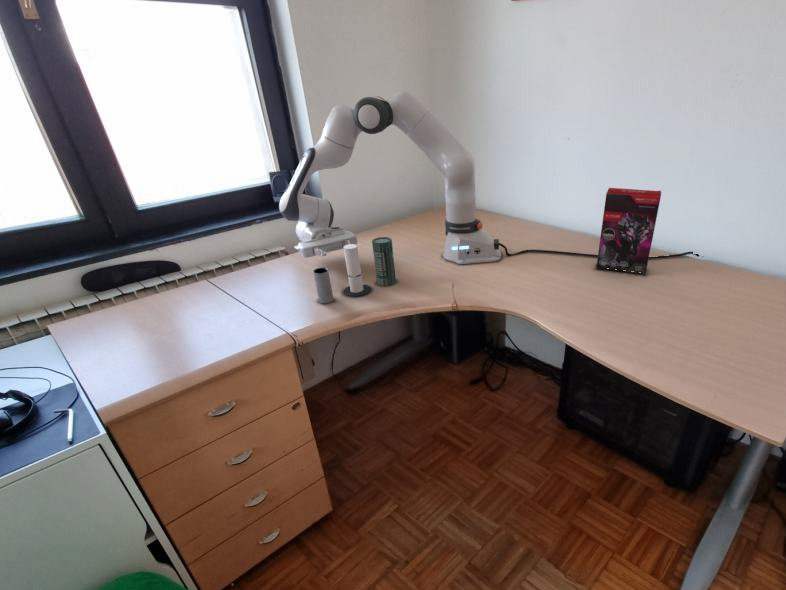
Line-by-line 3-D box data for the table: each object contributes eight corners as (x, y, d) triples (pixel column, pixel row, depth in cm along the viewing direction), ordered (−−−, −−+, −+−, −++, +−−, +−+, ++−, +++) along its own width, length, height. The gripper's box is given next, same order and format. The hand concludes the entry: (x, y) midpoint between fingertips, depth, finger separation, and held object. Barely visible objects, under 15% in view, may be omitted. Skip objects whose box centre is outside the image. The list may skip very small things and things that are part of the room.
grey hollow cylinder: (336, 298, 147) (331, 268, 142) (328, 304, 143) (322, 274, 138) (324, 296, 148) (318, 266, 143) (316, 302, 145) (310, 272, 139)
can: (398, 280, 158) (394, 238, 150) (389, 287, 154) (384, 244, 146) (383, 277, 161) (379, 236, 153) (374, 284, 156) (368, 241, 148)
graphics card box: (594, 269, 163) (606, 191, 148) (597, 262, 168) (608, 186, 154) (645, 276, 157) (662, 195, 143) (646, 268, 163) (662, 190, 148)
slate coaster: (373, 285, 155) (373, 284, 155) (368, 296, 148) (368, 295, 147) (347, 285, 155) (347, 284, 155) (341, 297, 148) (340, 295, 148)
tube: (351, 287, 153) (344, 244, 145) (364, 286, 153) (357, 243, 145) (349, 292, 149) (342, 249, 142) (362, 292, 150) (356, 248, 142)
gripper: (290, 237, 156) (305, 248, 147) (345, 225, 167) (363, 234, 157) (294, 255, 160) (309, 266, 150) (348, 242, 170) (365, 252, 161)
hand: (337, 250), depth 154 cm, fingers open, 8 cm apart
